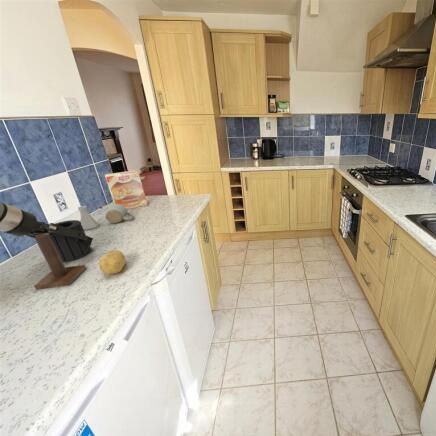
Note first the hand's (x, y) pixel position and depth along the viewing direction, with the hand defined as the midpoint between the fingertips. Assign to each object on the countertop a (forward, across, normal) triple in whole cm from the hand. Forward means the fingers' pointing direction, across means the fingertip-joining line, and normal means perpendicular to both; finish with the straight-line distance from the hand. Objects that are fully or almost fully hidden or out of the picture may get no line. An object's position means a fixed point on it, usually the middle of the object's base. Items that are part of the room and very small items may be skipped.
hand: (77, 241), depth 92 cm
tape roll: (+1, 0, -5) cm, 5 cm away
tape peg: (-9, +9, -15) cm, 20 cm away
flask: (+18, -15, +12) cm, 26 cm away
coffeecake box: (+37, -13, +31) cm, 50 cm away
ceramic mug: (+23, -5, +18) cm, 30 cm away
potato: (-6, +23, -11) cm, 26 cm away
